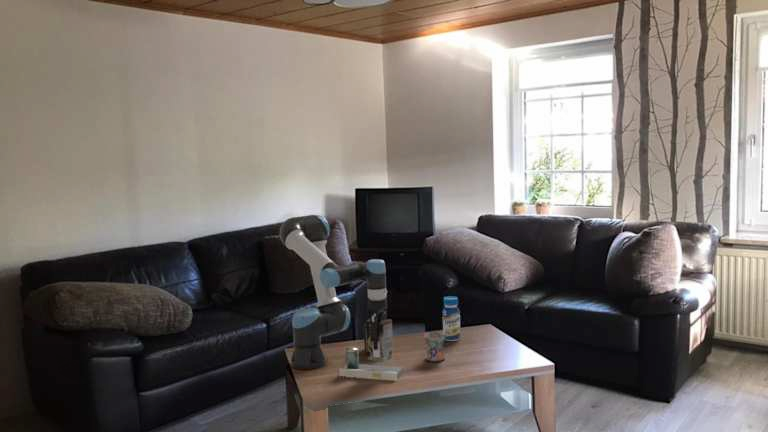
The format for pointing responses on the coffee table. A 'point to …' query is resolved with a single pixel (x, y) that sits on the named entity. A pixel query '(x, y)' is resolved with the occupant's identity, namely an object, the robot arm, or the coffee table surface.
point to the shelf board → (372, 372)
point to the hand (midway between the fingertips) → (380, 353)
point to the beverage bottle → (451, 319)
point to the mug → (434, 346)
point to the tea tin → (352, 357)
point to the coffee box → (381, 341)
